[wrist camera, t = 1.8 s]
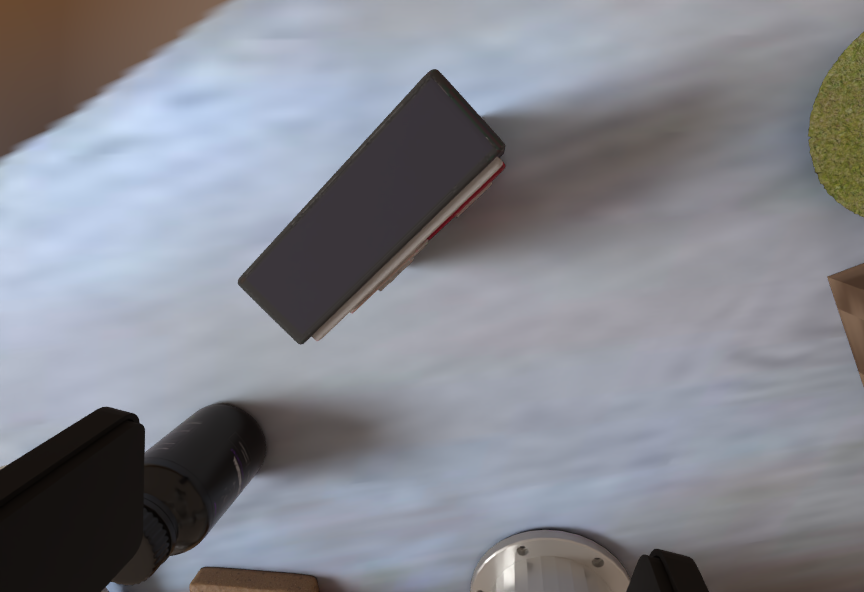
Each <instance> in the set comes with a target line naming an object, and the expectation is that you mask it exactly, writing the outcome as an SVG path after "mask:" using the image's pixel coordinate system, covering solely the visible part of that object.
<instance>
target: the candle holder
mask: <svg viewBox="0 0 864 592" xmlns="http://www.w3.org/2000/svg"><path fill="white" fill-rule="evenodd" d="M190 592H319V588H318V582H317V580H316V578H315V577H313V576H309V575H302V574H293V573H281V572H269V571H256V570H244V569H232V568H219V567H203V568H201V569H200V571H199V572H198V573H197V575H196V576H195V578H194V579H193V580H192V582H191V583H190Z"/></svg>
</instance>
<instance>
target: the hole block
mask: <svg viewBox="0 0 864 592" xmlns="http://www.w3.org/2000/svg"><path fill="white" fill-rule="evenodd" d="M827 278H828V281H829V284H830V287H831V290H832V293H833V296H834V299H835V302H836V305H837V308H838V311H839V314H840V317H841V320H842V323H843V326H844V329H845V332H846V335H847V338H848V341H849V344H850V347H851V350H852V353H853V356H854V359H855V362H856V365H857V368H858V371H859V374H860V377H861V380H862V383H863V386H864V263H863V264H860V265H858V266H855V267H852V268H850V269H847V270H844V271H842V272H839V273H836V274H834V275H831V276H828V277H827Z"/></svg>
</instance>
